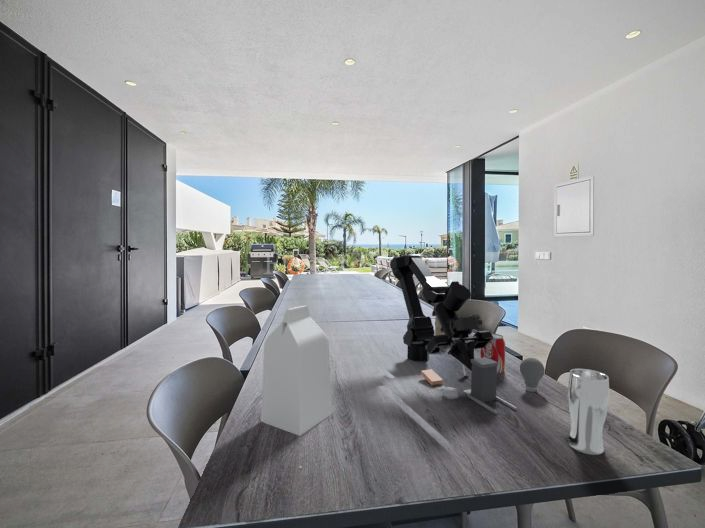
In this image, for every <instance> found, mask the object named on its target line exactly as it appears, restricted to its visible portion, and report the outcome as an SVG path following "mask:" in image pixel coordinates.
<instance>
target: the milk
mask: <svg viewBox="0 0 705 528" xmlns="http://www.w3.org/2000/svg"><path fill="white" fill-rule="evenodd" d="M262 364H263V365H262V386H261V387H262V389H261V414H260V415H261V416H260V422H261V423H263V424H267V425H269V426H272V427H274V428H277V429H280V430H283V431H285V432H289V433H291V434H294V435H296V436H299V437H301V436H302V435H304V434H305V433H306V432H308V431H309V430H310V429H312V428H314V427H315V426H317V425H318V424H319V423H321V422H322V421H324V420H325V419H326V418H328V417H329V416H331V415H332V414H333V399H332V396H333V395H332V382H331V362H330V347H329V338H328V336H327V334H326V332H324V330H323V329H322V328H321V327H320V326H319V324H318V323H316V321H315V320H314V319H313V318H312V317H311V314H310V311H309V307H308V305H304V304H303V305H299V306H294V307H290V308H286V309H285V313H284V315H283V319H282V322H281V323H280V324H278V326H277V327H276V328H275V329H273V331H272V332H271V333H270V334H269V335H267V338H266V339H265V341H264V345H263V363H262Z"/></svg>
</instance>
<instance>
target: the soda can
mask: <svg viewBox="0 0 705 528" xmlns="http://www.w3.org/2000/svg"><path fill="white" fill-rule="evenodd" d="M491 334H492V336H493V339H492V340H491V341H490V342H489V343H488V344H487V345H486V346H485V347H484V348H480V358H485V357H487V358H489V359H491V360H493V361H496V362H498V366H497V374H502V373H504V372H505V365H506V341H505V339H504V335H502V334H499V333H491Z"/></svg>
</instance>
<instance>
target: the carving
mask: <svg viewBox="0 0 705 528" xmlns="http://www.w3.org/2000/svg"><path fill="white" fill-rule="evenodd" d="M434 319H435V320H434V332H435V334H434V336H435V335H445V333H444V332H441V330H440V329H441V327H442V326H441V324H440V322H439V320H438V317H437V316H434Z"/></svg>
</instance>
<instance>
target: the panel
mask: <svg viewBox="0 0 705 528" xmlns="http://www.w3.org/2000/svg"><path fill="white" fill-rule="evenodd" d="M432 386H433V388H435V389H436V390H437V391H441V390H442V396H443V398H445V399H449V400H458V399H459V396H460V394H459V393H460V390H459V389H457V388H456V387H450V386H449V387H446V386H445V385H443V384H438V385H432ZM462 391H463V392H464V393H466V397H468V398H469V399H471V400H472V401H474V402H475V403H477V404H478V405H479V406H482V407H483V408H485V409H486V410H488V411H489V412H491V413H492V414H494V415H497V414H498V410H496V409H495V408H493V407H491V406H489V405H487V404H486V402H481V401H480V400H478V399H477V398H475V397H473V396H472V395H471V388H470V389H464V390H462ZM495 401H498V402H500V403H501V404H503V405H505V406H507V407H509V408H510V409H512V410H514V411H517V410H518V408H517V406H515V405H514V404H512V403H510V402H508V401H507V400H504V398H503V399H502V398H501V397H499V396H497V395H496V400H495Z"/></svg>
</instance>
